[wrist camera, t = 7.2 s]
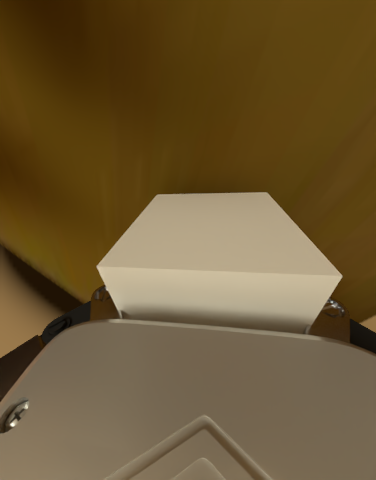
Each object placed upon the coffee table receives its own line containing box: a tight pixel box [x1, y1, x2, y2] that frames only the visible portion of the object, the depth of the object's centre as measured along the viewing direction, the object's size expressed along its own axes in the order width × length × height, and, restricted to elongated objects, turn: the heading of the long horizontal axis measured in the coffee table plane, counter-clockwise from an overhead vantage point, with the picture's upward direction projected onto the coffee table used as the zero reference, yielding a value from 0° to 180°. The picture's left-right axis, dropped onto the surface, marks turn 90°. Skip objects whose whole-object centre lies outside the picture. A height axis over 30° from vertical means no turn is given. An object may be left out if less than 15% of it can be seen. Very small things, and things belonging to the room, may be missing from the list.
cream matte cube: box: [97, 192, 342, 334], centre depth 11 cm, size 8×8×8 cm
